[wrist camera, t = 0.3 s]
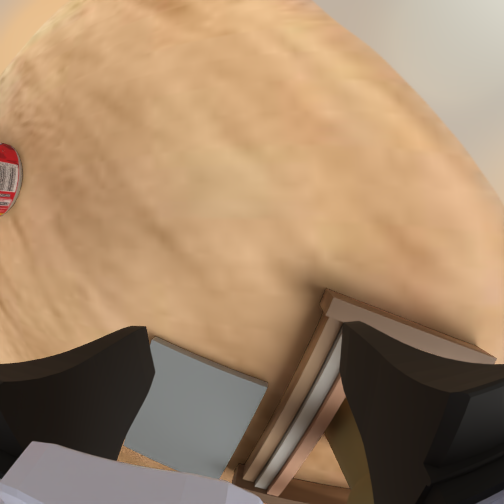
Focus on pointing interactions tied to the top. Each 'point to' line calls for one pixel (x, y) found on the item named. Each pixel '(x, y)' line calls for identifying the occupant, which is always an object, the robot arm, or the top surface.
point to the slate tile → (193, 411)
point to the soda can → (9, 177)
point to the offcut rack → (327, 400)
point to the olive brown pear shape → (350, 454)
